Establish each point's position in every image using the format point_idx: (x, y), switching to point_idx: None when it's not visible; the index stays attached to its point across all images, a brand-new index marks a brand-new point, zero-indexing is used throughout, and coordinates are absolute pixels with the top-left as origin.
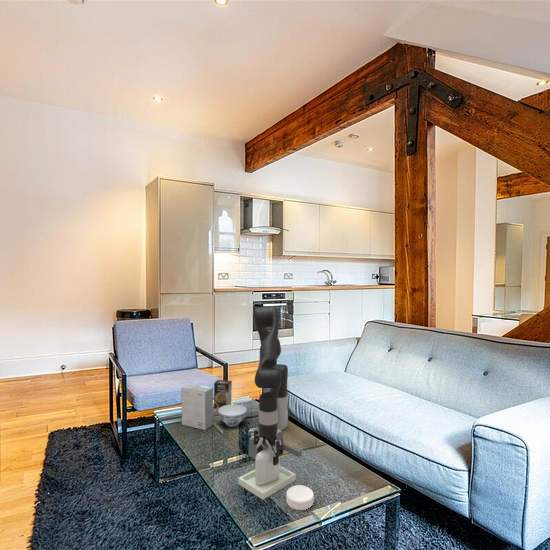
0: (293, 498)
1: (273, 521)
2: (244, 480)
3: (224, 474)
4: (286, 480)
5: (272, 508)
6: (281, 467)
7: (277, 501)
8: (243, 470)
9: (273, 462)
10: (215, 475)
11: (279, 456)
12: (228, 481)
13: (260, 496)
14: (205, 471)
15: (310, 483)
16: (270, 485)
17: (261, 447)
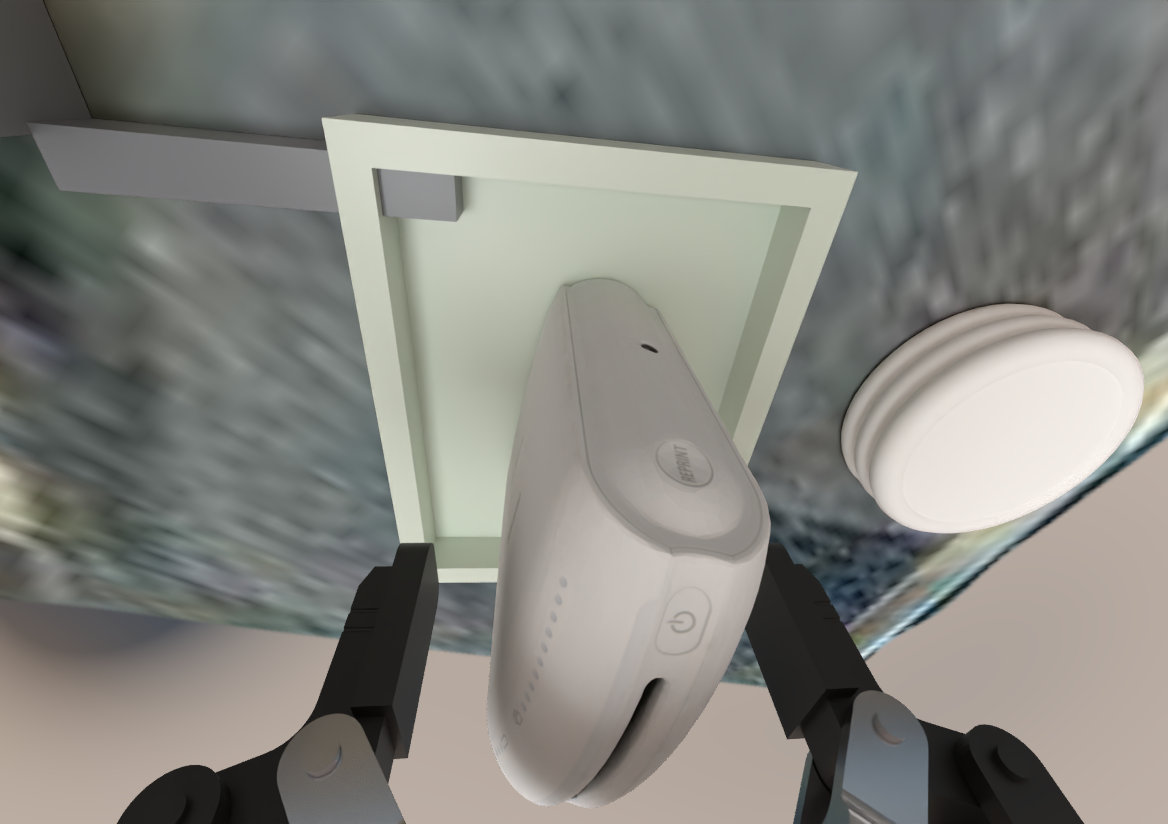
0: (963, 527)
1: (837, 599)
2: (475, 574)
3: (221, 534)
4: (786, 344)
5: None
6: (592, 167)
7: (786, 498)
8: (244, 405)
9: (757, 632)
10: (198, 575)
11: (751, 480)
12: (340, 561)
13: None
14: (94, 591)
15: (1016, 87)
16: None
17: (392, 725)
